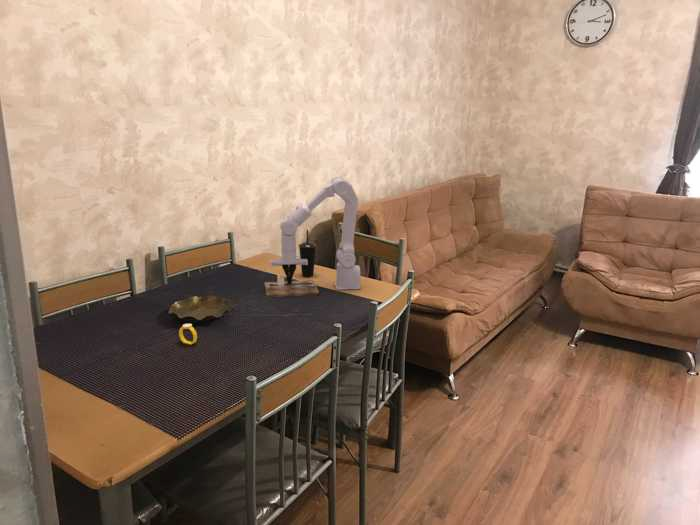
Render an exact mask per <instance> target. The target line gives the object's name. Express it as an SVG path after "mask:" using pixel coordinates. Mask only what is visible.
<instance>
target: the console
mask: <svg viewBox="0 0 700 525" xmlns="http://www.w3.org/2000/svg"><path fill="white" fill-rule="evenodd" d="M277 284H278V282H277V281H271V282H270V281H267V282H266V281H265V282H264V289H265V295H266V298H278V297H279V298H281V297H297V296H298V297H300V296H303V297H304V296H317V295H318V294H319V295H320V291H319V290H318V287H317V284H316V282H315V280H313V279H310V280H306V279H305V280H292V282H291V284H288V283H287V280H286V281H285V280H284V284H285V286H277ZM319 295H318V296H319Z"/></svg>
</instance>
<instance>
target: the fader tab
mask: <svg viewBox="0 0 700 525" xmlns="http://www.w3.org/2000/svg"><path fill="white" fill-rule="evenodd" d="M276 280H277V281H276V282H278V284H277V286H285V284H284V281H285V276H284V274H283V275H282V274H280V275H277V279H276Z"/></svg>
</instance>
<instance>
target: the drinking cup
mask: <svg viewBox="0 0 700 525" xmlns="http://www.w3.org/2000/svg"><path fill="white" fill-rule="evenodd" d="M298 249H299V259H307V260H308V265H300V266H301V277H303V278H312V277H314V273H315V272H314V271H315V261H316V249H317V243H313V242H310V241H309V230H307V229H306V241H304V242H301V243H299V244H298Z"/></svg>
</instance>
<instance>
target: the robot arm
mask: <svg viewBox="0 0 700 525" xmlns="http://www.w3.org/2000/svg"><path fill="white" fill-rule="evenodd" d="M335 194H336V195H337V196H338V197H340V198H341V200H342V201H343V202H344V208H343V219H342V230H341V238H340V239H341V240H340V242H339V244H338V245H339V246H338V249H337V250H336V254H335V258H336V260H338V262H337V263H336V282H334V283H333V285H334V287H335V288H336V290H337V291H342V290H343V291H344V290H360V289H361V267H360V265H358V264H356V261H357V260H356V256H355V244H354V242H355V241H354V239H355V232H356V222H357V214H358V204H359V198H358V196H357V193H356V192H355V190H354V188H353V185H352V184H350V182H349V181H347V180H345V179H344V178H342V177H340V176H334V177H333V178H332V179H331V180H330V181H328V182H326V184H324V186H322V188H321V189H320V190H318V192H316V194H315V195H313V196H312V197H311V199H310V200H309V201H308V202H307V203H306V204H300V205H297V206H295V210H293V211H292V213H290V215H289V214H288V215H286V218H284V219H282V221H281V222H280V225H279V228H280V230H281V234H280V235H281V239H280V242H281V243H280V245H281V247H280V248H281V249H280V250H281V251H280V252H281V253H280V254H281V259H274V260H273V259H272V260H270V261H269V262H270V263H269V265H270V267H271V268H272V267H277V266H279V267H280V266H281V267H282V269H283V271H284V274H285V276H286V281H287V283H288V284H291V282H292V281H293V277H294V274H295V272H296V270H297V266H301V265H308V260H307V259H300V258H297V238H296V233H297V231H298V228H299V227H301V226H302V225H303V224H304V223H305V222H306V221H307V220H308V219H309V218H311V216H312V211H314V209H315V208H317V206H319V205H320V204H321V203H322V202H324V201H325V200H326V199H327V198H334V197H336V195H335Z"/></svg>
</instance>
